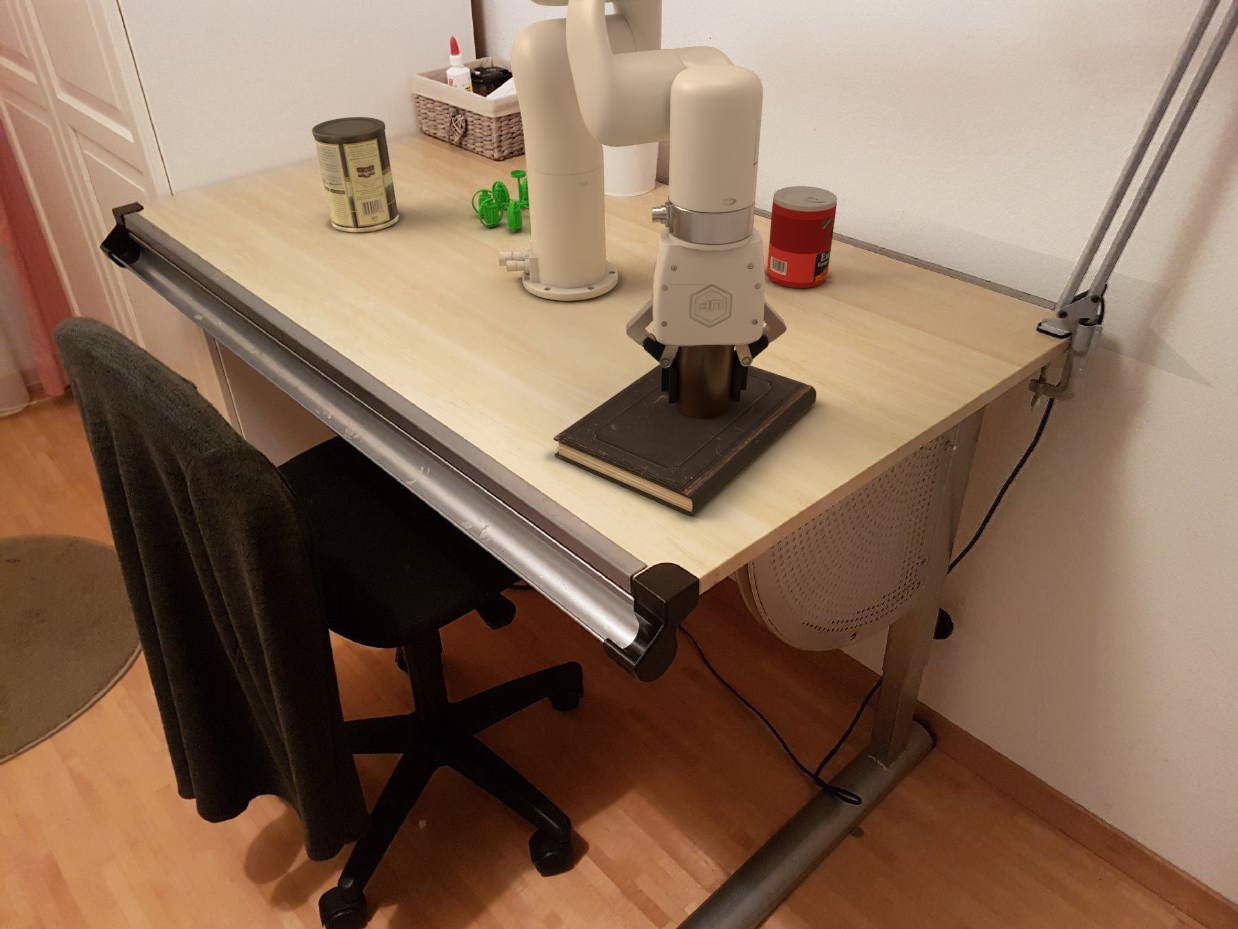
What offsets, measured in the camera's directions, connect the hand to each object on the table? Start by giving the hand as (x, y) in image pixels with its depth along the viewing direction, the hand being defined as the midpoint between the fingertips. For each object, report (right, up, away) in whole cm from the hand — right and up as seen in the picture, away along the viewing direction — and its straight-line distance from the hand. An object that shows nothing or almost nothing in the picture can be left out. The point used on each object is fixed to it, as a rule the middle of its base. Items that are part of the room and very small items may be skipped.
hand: (702, 394), depth 91 cm
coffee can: (-47, +30, +50) cm, 75 cm away
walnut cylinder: (0, -1, +1) cm, 1 cm away
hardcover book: (-1, -4, +1) cm, 4 cm away
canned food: (+15, +18, +31) cm, 39 cm away
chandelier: (-23, +31, +50) cm, 63 cm away
